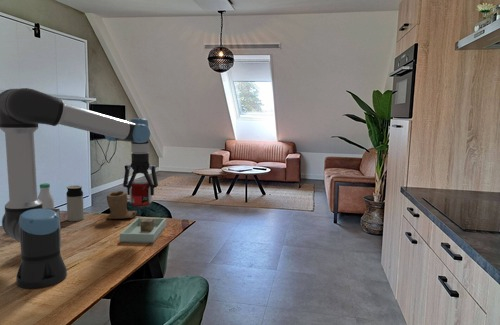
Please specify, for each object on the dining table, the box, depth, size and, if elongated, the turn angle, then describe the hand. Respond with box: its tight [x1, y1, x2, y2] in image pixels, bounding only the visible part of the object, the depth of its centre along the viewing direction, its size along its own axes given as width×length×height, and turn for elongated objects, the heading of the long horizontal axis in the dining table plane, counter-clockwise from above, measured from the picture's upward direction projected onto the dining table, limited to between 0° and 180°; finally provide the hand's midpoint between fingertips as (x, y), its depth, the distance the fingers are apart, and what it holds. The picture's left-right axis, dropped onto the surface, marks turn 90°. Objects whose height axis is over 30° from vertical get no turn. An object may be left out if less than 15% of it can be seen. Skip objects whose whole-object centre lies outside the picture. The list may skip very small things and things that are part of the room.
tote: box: [119, 217, 168, 244], centre depth 178 cm, size 26×15×4 cm, turn 0°
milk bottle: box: [37, 183, 55, 209], centre depth 193 cm, size 8×8×20 cm
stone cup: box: [106, 190, 138, 220], centre depth 202 cm, size 15×12×15 cm
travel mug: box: [65, 184, 85, 222], centre depth 198 cm, size 8×8×18 cm
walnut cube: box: [140, 219, 154, 232], centre depth 181 cm, size 5×5×5 cm
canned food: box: [131, 179, 150, 207], centre depth 170 cm, size 8×8×11 cm
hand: (140, 202), depth 170 cm, fingers closed on canned food, 8 cm apart
